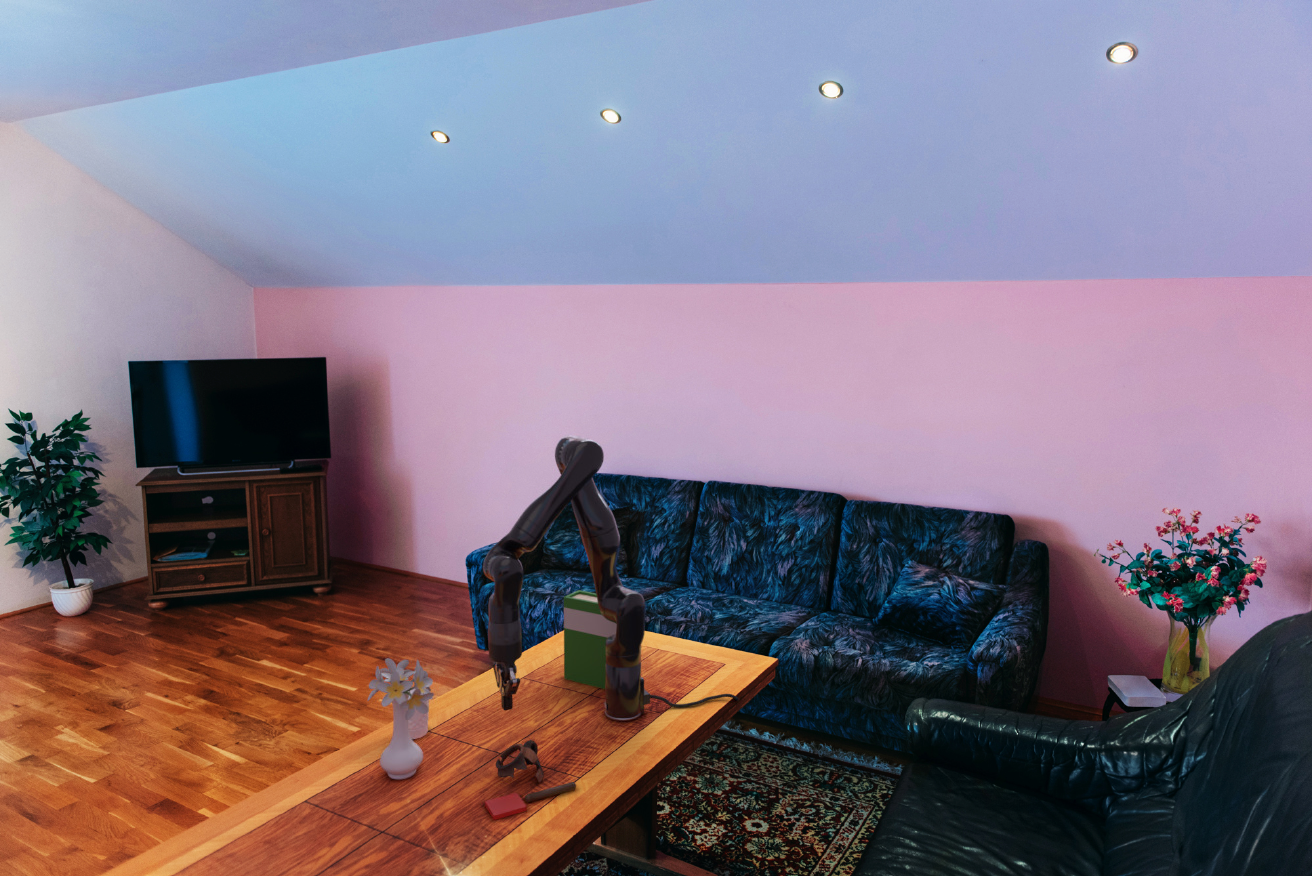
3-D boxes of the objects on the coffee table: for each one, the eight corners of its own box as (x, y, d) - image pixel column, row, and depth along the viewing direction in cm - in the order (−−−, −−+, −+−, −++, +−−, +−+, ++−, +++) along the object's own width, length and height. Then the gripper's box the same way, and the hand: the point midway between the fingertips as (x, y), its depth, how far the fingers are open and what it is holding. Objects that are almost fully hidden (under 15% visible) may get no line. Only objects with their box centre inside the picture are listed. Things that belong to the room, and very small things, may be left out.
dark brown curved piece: (539, 792, 180) (519, 764, 178) (504, 803, 183) (484, 775, 181) (556, 752, 191) (537, 725, 189) (523, 763, 194) (504, 737, 192)
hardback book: (630, 682, 236) (631, 600, 233) (616, 692, 229) (616, 607, 226) (579, 669, 244) (578, 590, 241) (564, 678, 238) (563, 597, 235)
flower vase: (403, 800, 176) (400, 686, 173) (356, 770, 188) (352, 663, 184) (454, 775, 186) (452, 667, 183) (406, 748, 197) (403, 647, 194)
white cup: (436, 728, 208) (435, 690, 206) (417, 743, 200) (416, 703, 199) (409, 723, 210) (408, 685, 209) (389, 737, 203) (388, 698, 201)
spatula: (570, 782, 183) (570, 775, 183) (581, 795, 178) (581, 788, 178) (484, 805, 174) (484, 798, 174) (493, 820, 169) (493, 812, 169)
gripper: (530, 643, 189) (532, 716, 191) (510, 625, 200) (513, 694, 202) (498, 650, 185) (500, 724, 187) (480, 631, 196) (482, 701, 199)
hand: (507, 708), depth 195 cm, fingers closed
